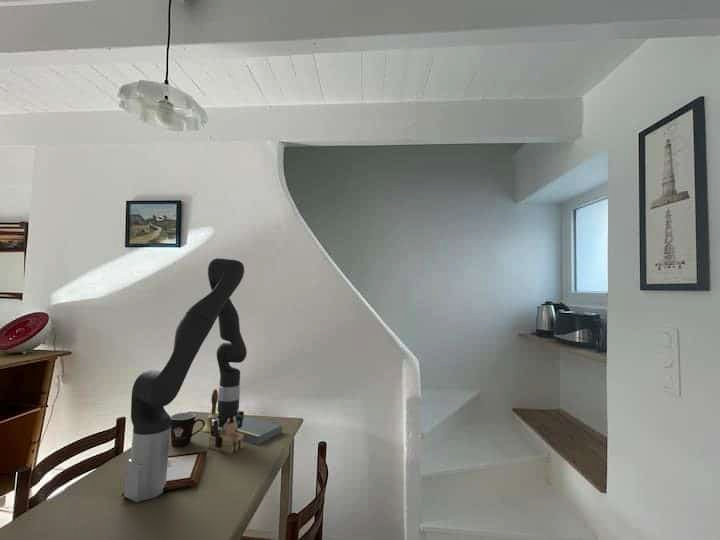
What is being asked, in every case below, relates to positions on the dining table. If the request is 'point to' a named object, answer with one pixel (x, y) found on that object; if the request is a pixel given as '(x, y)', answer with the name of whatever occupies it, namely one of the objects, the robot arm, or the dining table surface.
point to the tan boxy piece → (228, 442)
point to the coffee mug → (183, 428)
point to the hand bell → (213, 413)
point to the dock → (258, 430)
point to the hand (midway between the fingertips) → (226, 444)
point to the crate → (229, 429)
